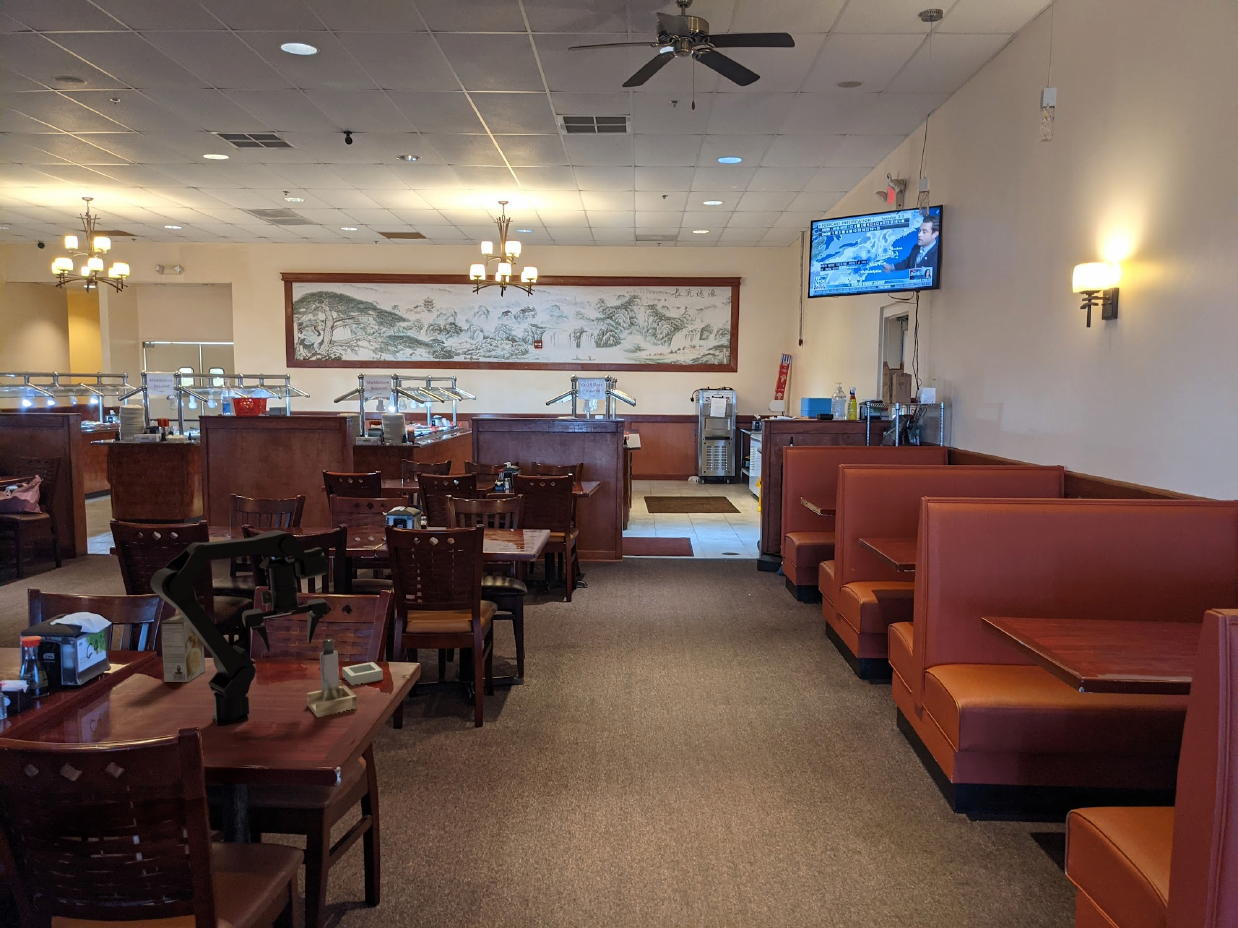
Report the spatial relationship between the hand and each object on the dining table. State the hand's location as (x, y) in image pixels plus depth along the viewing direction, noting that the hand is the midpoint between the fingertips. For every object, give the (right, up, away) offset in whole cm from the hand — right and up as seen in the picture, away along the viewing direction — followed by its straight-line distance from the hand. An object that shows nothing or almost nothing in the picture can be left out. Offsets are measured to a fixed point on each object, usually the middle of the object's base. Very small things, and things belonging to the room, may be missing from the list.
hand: (289, 647), depth 203 cm
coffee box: (-35, -12, +19) cm, 41 cm away
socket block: (+12, -12, +17) cm, 24 cm away
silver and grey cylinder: (+11, -12, -3) cm, 17 cm away
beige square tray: (+11, -13, -3) cm, 18 cm away
